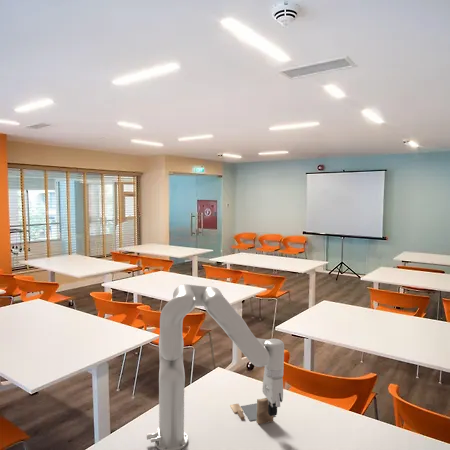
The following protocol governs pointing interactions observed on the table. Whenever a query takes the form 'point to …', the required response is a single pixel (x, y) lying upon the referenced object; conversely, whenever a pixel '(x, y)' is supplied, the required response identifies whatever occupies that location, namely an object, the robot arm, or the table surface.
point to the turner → (237, 410)
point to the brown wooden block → (263, 411)
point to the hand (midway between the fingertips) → (272, 414)
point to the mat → (251, 411)
